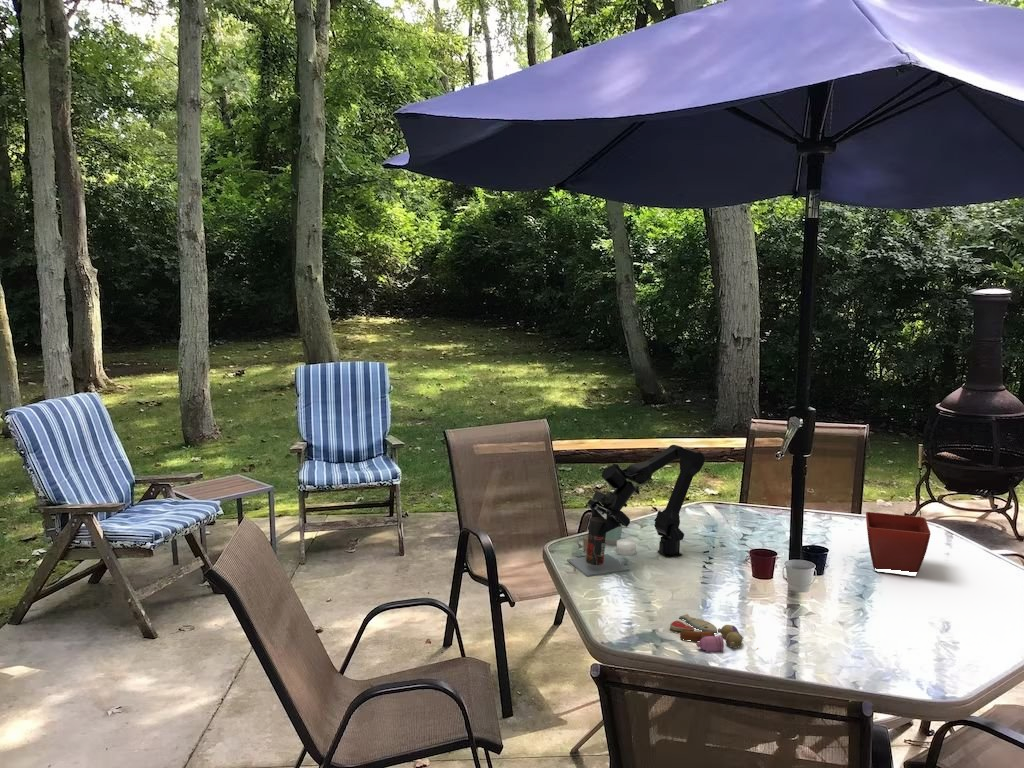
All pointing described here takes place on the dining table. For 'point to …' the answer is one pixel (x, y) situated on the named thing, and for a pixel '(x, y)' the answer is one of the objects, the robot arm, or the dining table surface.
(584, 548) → the walnut box
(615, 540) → the coffee cup
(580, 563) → the slate board
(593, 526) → the deodorant
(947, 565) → the dining table surface
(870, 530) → the plant pot
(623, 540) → the off-white smooth dome
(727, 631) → the toy food set
